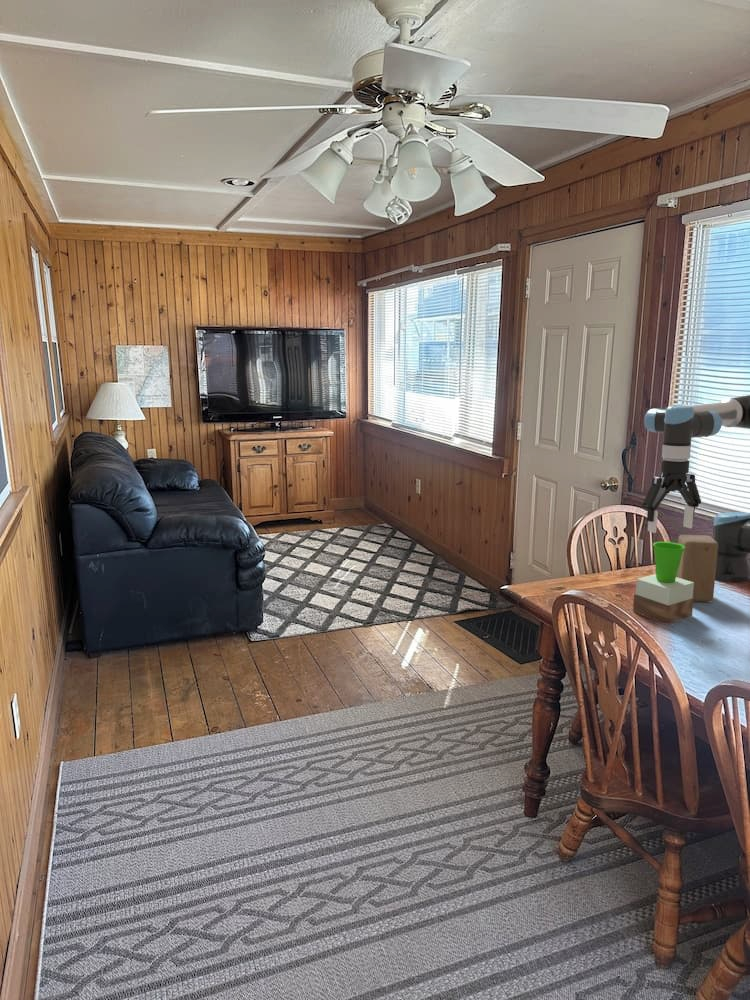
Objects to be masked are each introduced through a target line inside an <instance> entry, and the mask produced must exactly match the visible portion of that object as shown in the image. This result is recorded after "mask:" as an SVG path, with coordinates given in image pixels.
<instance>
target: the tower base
mask: <svg viewBox="0 0 750 1000" xmlns="http://www.w3.org/2000/svg"><path fill="white" fill-rule="evenodd" d="M693 600H694V598H692V599H688V600H685V601H682V602H679V603H675V604H672V605H669V606H668V605H665V604H662V603H659V602H656V601H654V600H651V599H648V598H645V597H642V596H639V595H636V593H634V594H633V603H632V605H633V607H632V608H633V609H632V612H633V611H634V612H633V613H635V612H637V613H636V614H638V613H640V614H639V615H641V614H643V615H645V616H644V617H646V616H648V617H647V618H649V617H650V618H649V619H652V620H654V621H657V622H659V623H662V624H666V625H669V624H671V623H675V622H678V621H681V620H683V619H687V618H691V617H693V609H694V601H693ZM643 615H642V616H643ZM690 616H691V617H690Z"/></svg>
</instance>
